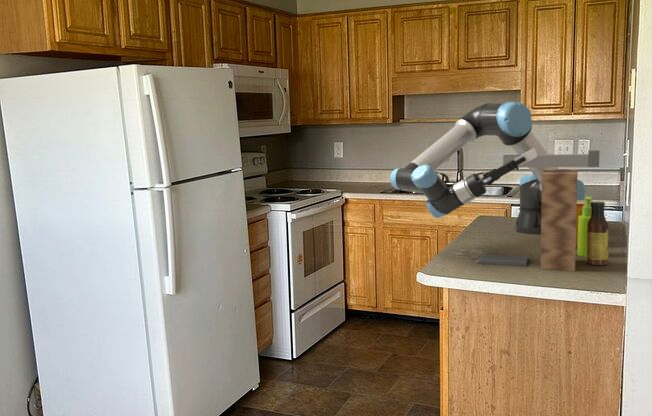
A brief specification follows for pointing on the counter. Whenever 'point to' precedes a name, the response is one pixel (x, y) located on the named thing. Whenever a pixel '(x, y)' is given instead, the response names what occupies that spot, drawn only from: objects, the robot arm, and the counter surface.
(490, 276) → the counter surface
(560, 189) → the brown wooden block
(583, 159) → the pin
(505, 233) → the counter surface
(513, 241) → the counter surface
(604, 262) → the sauce bottle
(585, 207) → the soap dispenser
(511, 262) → the base plate
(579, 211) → the baking soda box
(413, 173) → the robot arm
